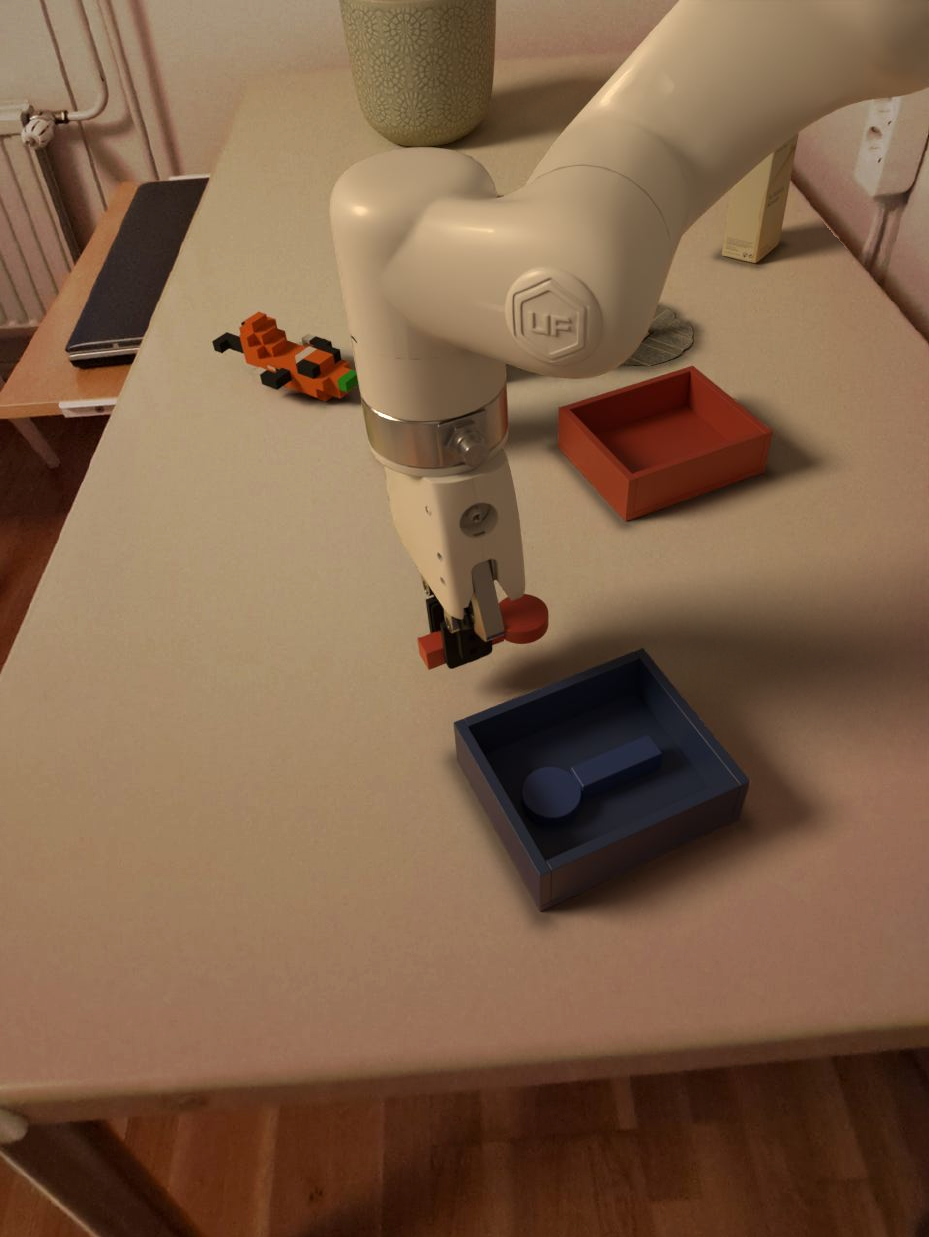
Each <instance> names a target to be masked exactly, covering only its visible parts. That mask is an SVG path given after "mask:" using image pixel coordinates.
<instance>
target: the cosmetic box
mask: <svg viewBox="0 0 929 1237" xmlns="http://www.w3.org/2000/svg"><path fill="white" fill-rule="evenodd" d="M799 134H800V132H799V133H798V134H796V135H795V136H793V137H792V138H791V139H789V140H788V141H787V142H785V143H784V144H783V145H782V146H780V147H779V148H778V149H776V150H775V151H774V152H773V153H771V154H770V155H769V156H768V157H767V158H766V159H764V160H763V161H762V162H761V163H760V164H758V165H757V166H756V167H755V168H754V169H753V170H752V171H750V172H749V173H748V174H747V175H746V176H745V177H744V178H743V179H741V180H740V181H739V182H738V183H737V184H736V185H735V186H733V187H732V188H731V189H730V190H729V192H730V193H729V200H728V205H727V206H728V207H727V211H726V212H727V214H726V221H725V227H724V235H723V242H722V250H721V256H724V257H728V258H732V259H736V260H739V261H743V262H746V263H747V262H748V263H753V264H757V263H758V262H759V261H761V260H762V259H763V258H764V257H765V256H767V255H768V254H769V253H770V252H771V251H772V250H774V249H775V248H776V247H777V246H778V245H779V244H780V240H781V236H782V230H783V225H784V218H785V213H786V209H787V208H786V207H787V203H788V202H787V201H788V198H789V191H790V190H789V189H790V185H791V180H792V173H793V168H794V164H795V158H796V152H797V151H796V150H797V146H798V140H799Z"/></svg>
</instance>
